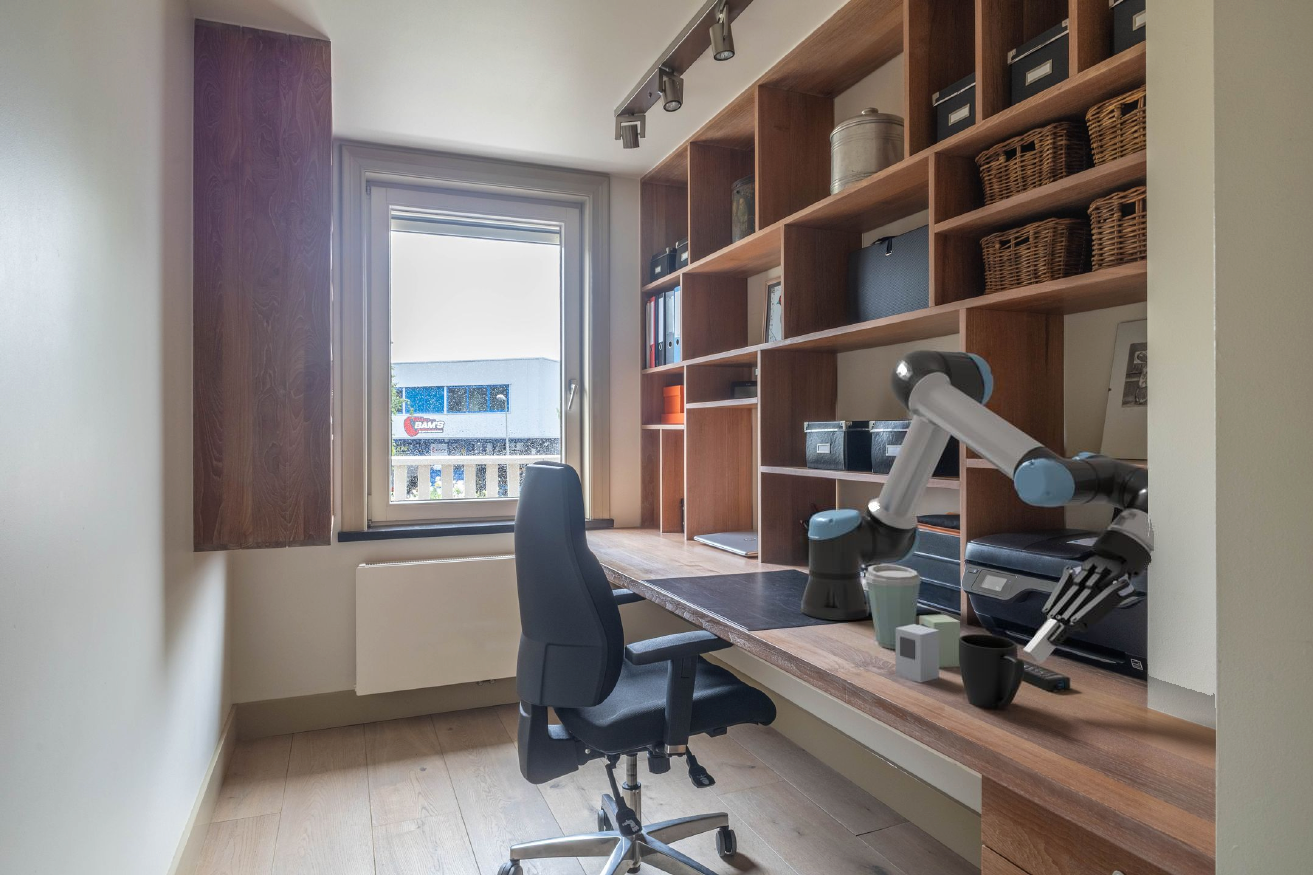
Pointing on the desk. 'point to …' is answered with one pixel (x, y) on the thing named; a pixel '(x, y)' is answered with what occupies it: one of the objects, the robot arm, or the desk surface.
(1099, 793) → the desk surface
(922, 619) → the block sage
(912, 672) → the block grey
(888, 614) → the disposable coffee cup
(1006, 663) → the mug
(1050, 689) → the multiport hub
